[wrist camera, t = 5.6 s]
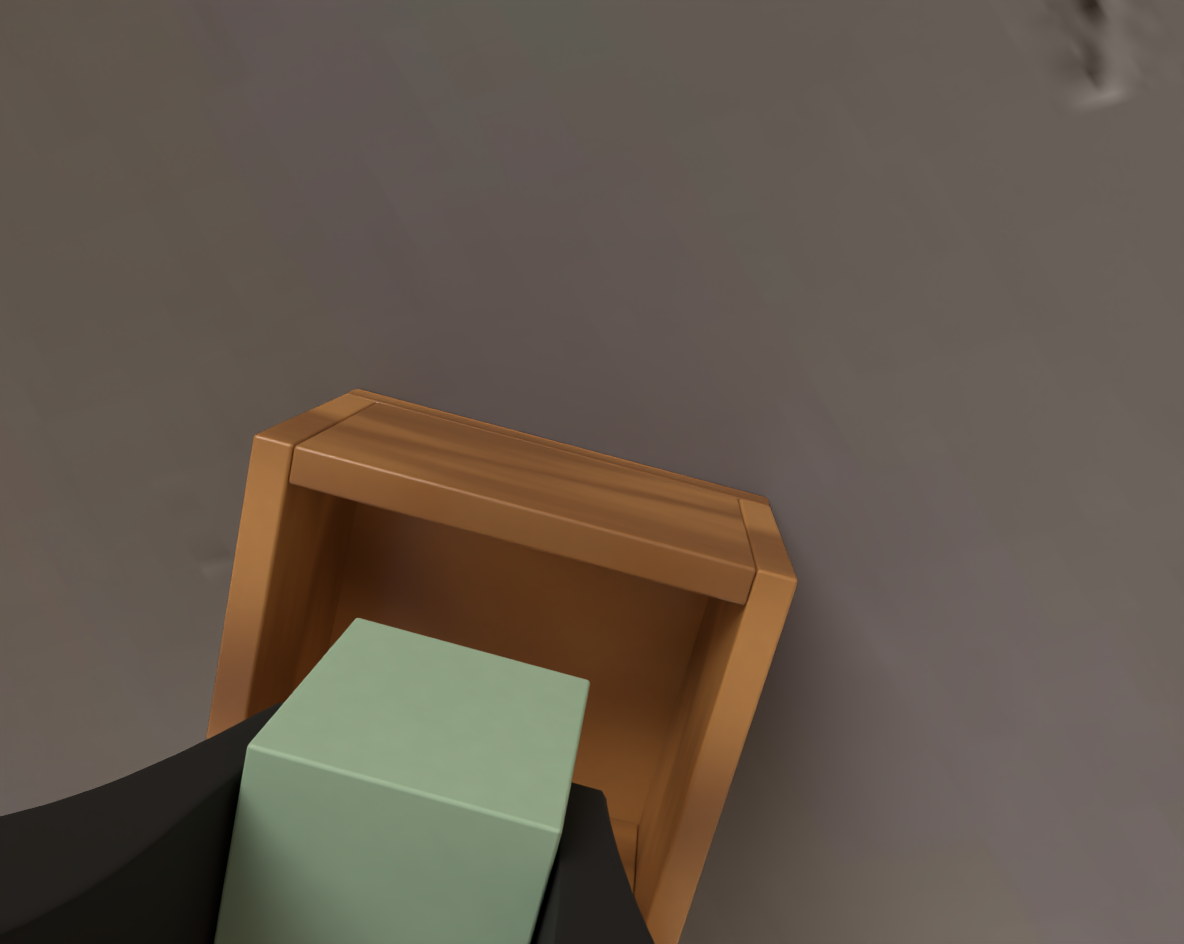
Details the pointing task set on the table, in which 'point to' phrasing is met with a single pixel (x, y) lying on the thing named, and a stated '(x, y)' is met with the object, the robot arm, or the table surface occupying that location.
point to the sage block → (403, 798)
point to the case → (523, 598)
